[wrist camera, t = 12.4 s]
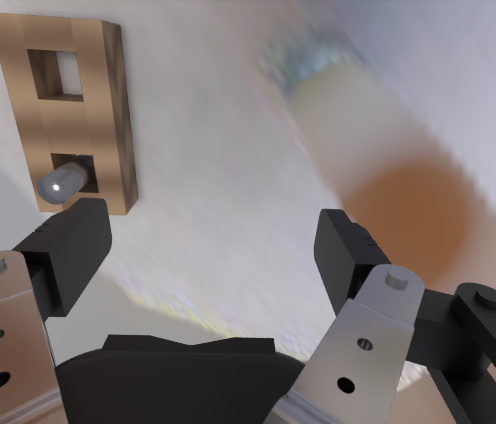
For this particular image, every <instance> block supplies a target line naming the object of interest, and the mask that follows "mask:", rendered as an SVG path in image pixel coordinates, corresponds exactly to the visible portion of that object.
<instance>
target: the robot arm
mask: <svg viewBox="0 0 496 424" xmlns="http://www.w3.org/2000/svg"><path fill="white" fill-rule="evenodd" d="M111 244H112V234H111V227H110V221H109V214H108V208H107V203H106V201H105V199H103V198H84V197H81V198H80V199H78V200H77V201H76V202H75V203H74V204H73V205H72V206H71V207H69V208H68V209H67V210H64V211H61V212H59V213H57V214H55V215H53V216H51V217H50V218H49V219H47V220H46V221H45V222H44V223H43V224H42V226H39V227H38V228H37V229H36V230H35V232H32V233H31V234H30V235H29V236H28V237H26V238H25V239H24V240H23V241H22V242H20V243H19V244H18V245H17V246H16V247H15V248H13V249H12V250H11V251H10V250H8V251H7V250H6V251H0V424H386V423H387V420H388V416H389V413H390V410H391V406H392V403H393V399H394V396H395V393H396V390H397V386H398V383H399V379H400V376H401V373H402V369H403V366H404V363H405V360H406V361H410V362H413V363H416V364H420V365H423V366H426V367H427V369H428V371H429V373H430V375H431V377H432V379H433V380H434V382H435V384H436V386H437V388H438V390H439V391H440V393H441V395H442V397H443V399H444V401H445V403H446V404H447V406H448V408H449V410H450V412H451V414H452V415H453V417H454V419H455V421H456V423H457V424H496V382H495V381H494V379H493V378H492V376H491V375H490V374H489V372H488V371H487V368H488V367H489V365H490V364H491V362H492V363H493V365H494V366H495V367H496V290H495V289H493V288H490V287H488V286H485V285H481V284H477V283H462V284H460V285H459V286H458V287H457V289H456V291H455V293H454V295H450V294H445V293H441V292H436V291H433V290H429V289H425V286H424V283H423V281H422V280H421V279H420V278H419V277H418V276H417V275H416V274H414V273H413V272H411V271H410V270H408V269H405V268H403V267H400V266H396V265H392V264H391V262H390V261H389V259H388V258H387V257H386V255H385V254H384V253H383V251H382V250H381V249H380V247H379V246H377V243H376V242H375V241H374V240H373V239H372V236H371V235H370V234H369V232H368V231H367V230H366V229H365V228H363V227H361V226H360V225H359V224H357V223H352V222H351V221H350V219H349V218H348V216H347V215H346V213H345V212H344V211H343V210H340V209H322V210H321V212H320V216H319V221H318V227H317V232H316V237H315V243H314V258H315V262H316V264H317V267H318V270H319V272H320V275H321V278H322V280H323V283H324V286H325V288H326V291H327V294H328V296H329V299H330V302H331V304H332V307H333V310H334V312H335V315H336V318H335V320H334V322H333V323H332V325H331V326H330V328H329V329H328V331H327V333H326V334H325V336H324V337H323V339H322V340H321V342H320V344H319V345H318V347H317V348H316V350H315V351H314V353H313V355H312V356H311V358H310V359H309V361H308V362H307V364H306V365H305V364H304V363H302V362H301V361H299V360H297V359H295V358H293V357H290V356H288V355H285V354H282V353H279V352H275V344H274V338H241V337H233V338H228V339H223V340H218V341H213V342H207V343H202V344H197V345H186V344H182V343H178V342H174V341H170V340H166V339H162V338H158V337H154V336H149V335H108V337H107V339H106V341H105V343H104V345H103V347H102V349H97V350H93V351H89V352H86V353H83V354H81V355H78V356H75V357H74V358H71V359H69V360H67V361H65V362H63V363H61V364H60V365H58V366H57V364H56V360H55V357H54V354H53V350H52V346H51V343H50V339H49V336H48V332H47V329H46V326H45V321H46V320H47V318H48V317H66V316H67V315H68V313H69V312H70V310H71V308H72V307H73V306H74V304H75V303H76V301H77V300H78V298H79V297H80V295H81V294H82V292H83V290H84V289H85V288H86V286H87V285H88V283H89V282H90V280H91V279H92V277H93V275H94V274H95V273H96V271H97V270H98V268H99V267H100V265H101V264H102V262H103V261H104V259H105V258H106V256H107V255H108V253H109V251H110V249H111Z"/></svg>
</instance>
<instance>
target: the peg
mask: <svg viewBox="0 0 496 424" xmlns="http://www.w3.org/2000/svg"><path fill="white" fill-rule="evenodd" d="M95 177H96V172H95V166H94V160H93V155H78V156H77V157H75V158H73V159H72V160H70V161H68V162H67V163H65V164H63V165H62V166H60V167H59V168H57V169H55V170H54V171H52V172H50V173H49V174H47V175H46V176H44V177H42V178H41V179H40V180H39V181H38V182H37V185H36V189H37V192H38V194H39V196H40V197H41V198H42V199H43V200H44V201H46V202H48V203H50V204H54V205H60V204H63V203H65V202H66V201H67V200H68V199H69V198H71V197H72V196H73V195H74V194H75V193H77V192H78V191H79V190H80V189H81V188H83V187H84V186H85V185H86V184H87V183H89V182H90V181H91V180H92V179H93V178H95Z"/></svg>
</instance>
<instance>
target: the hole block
mask: <svg viewBox="0 0 496 424" xmlns="http://www.w3.org/2000/svg"><path fill="white" fill-rule="evenodd" d="M55 51H67V52H76V56H77V62H78V69H79V75H80V81H81V87H82V93H83V95H70V94H63V90H62V85H61V80H60V74H59V69H58V64H57V59H56V54H55ZM0 63H1V67H2V71H3V75H4V79H5V82H6V86H7V90H8V94H9V97H10V101H11V105H12V109H13V113H14V116H15V120H16V124H17V128H18V131H19V135H20V139H21V143H22V147H23V150H24V154H25V158H26V162H27V165H28V169H29V173H30V177H31V180H32V184H33V188H34V192H35V196H36V199H37V203H38V207H39V211H40V212H55V213H59V212H61V211H64V210H67V209H68V208H69V207H71V206H72V205H73V204H74V203H75V202H76V201H77V200H78V199H80V198H81V197H84V198H103V199H105V201H106V203H107V208H108V214H109V215H127V213H128V212H129V211H130V209H131V208H132V206H133V205H134V204H135V202H136V201H137V199H138V193H137V183H136V173H135V164H134V154H133V145H132V135H131V126H130V116H129V107H128V97H127V88H126V78H125V69H124V59H123V49H122V40H121V30H120V25H117V24H113V23H109V22H106V21H102V20H90V19H76V18H63V17H49V16H36V15H22V14H9V13H0ZM75 154H79V155H93V160H94V166H95V172H96V177H95V178H93V179H92V180H91V181H90V182H89V183H87V184H86V185H85V186H84V187H83V188H81V189H80V190H79V191H78V192H77V193H75V194H74V195H73V196H72V197H71V198H69V199H68V200H67V201H66V202H65V203H63V204H60V205H54V204H50V203H48V202H46V201H44V200H43V199H42V198H41V197H40V196H39V194H38V192H37V189H36V185H37V182H38V181H39V180H40V179H41V178H42V177H44V176H46V175H47V174H49V173H50V172H52V171H54V170H55V169H57V168H59V167H60V166H62V165H63V164H65V163H67V162H68V161H70V160H72V159H73V158H75Z"/></svg>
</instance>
